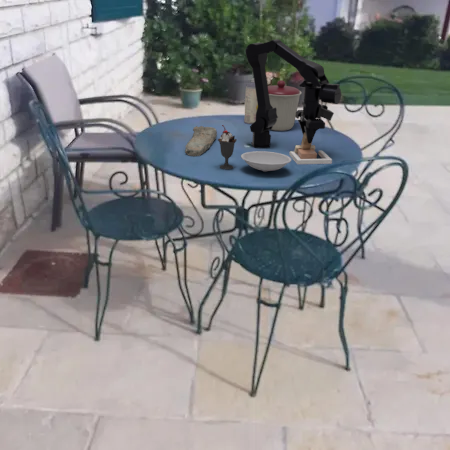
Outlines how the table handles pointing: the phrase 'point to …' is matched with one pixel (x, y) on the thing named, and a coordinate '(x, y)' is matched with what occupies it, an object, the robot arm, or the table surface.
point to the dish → (265, 160)
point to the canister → (284, 104)
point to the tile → (307, 154)
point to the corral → (324, 160)
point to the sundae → (226, 147)
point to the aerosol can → (250, 103)
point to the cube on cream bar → (304, 144)
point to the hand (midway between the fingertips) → (307, 141)
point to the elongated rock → (200, 140)
